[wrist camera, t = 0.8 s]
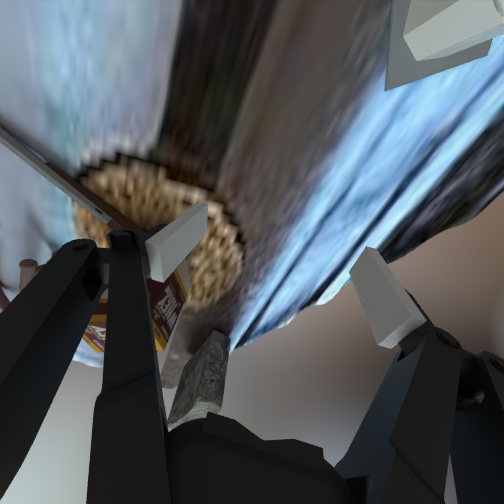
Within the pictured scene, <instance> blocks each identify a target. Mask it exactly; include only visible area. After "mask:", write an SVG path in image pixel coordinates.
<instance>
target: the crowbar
mask: <svg viewBox="0 0 504 504" xmlns="http://www.w3.org/2000/svg"><path fill="white" fill-rule="evenodd" d="M0 143H2V144H3V145H4V146H6V147H7V148H8V149H9V150H11V151H12V152H13V153H15V154H16V155H17V156H18V157H20V158H21V159H22V160H23V161H25V162H26V163H27V164H29V165H30V166H31V167H32V168H34V169H35V170H36V171H37V172H39V173H40V174H41V175H43V176H44V177H45V178H46V179H48V180H49V181H50V182H51V183H53V184H54V185H55V186H57V187H58V188H59V189H60V190H62V191H63V192H64V193H65V194H67V195H68V196H69V197H71V198H72V199H73V200H74V201H76V202H77V203H78V204H79V205H81V206H82V207H83V208H85V209H86V210H87V211H88V212H90V213H91V214H92V215H94V216H95V217H96V218H97V219H99V220H100V221H101V222H102V223H104V224H107V225H108V226H109V227H111V228H112V229H113V230H118V229H131V230H134V231H136V233H137V235H138V239H139V238H140V237H141V236H143V235H144V234H146V232H145V231H143V230H142V229H141V228H139V227H138V226H136V225H135V224H134V223H132V222H131V221H129V220H128V219H127V218H125V217H124V216H122V215H121V214H120V213H118V212H117V211H115V210H114V209H113V208H111V207H110V206H109V205H107V204H106V203H105V202H103V201H102V200H100V199H99V198H98V197H96V196H95V195H94V194H92V193H91V192H89V191H88V190H87V189H85V188H84V187H83V186H81V185H80V184H79V183H77V182H76V181H74V180H73V179H72V178H70V177H69V176H68V175H66V174H65V173H63V172H62V171H61V170H59V169H58V168H57V167H55V166H54V165H53V164H51V163H50V162H48V163H45V162H44V161H43V160H42V159H40V158H39V157H38V156H37V155H35V154H34V153H33V152H32V151H31V150H29V149H28V148H27V147H26V146H24V145H23V144H22V143H21V142H19V141H18V140H17V139H16V138H14V137H13V136H12V135H11V134H10V133H8V132H7V131H6V130H5V129H3V128H2V127H1V126H0Z"/></svg>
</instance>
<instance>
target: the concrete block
mask: <svg viewBox="0 0 504 504" xmlns="http://www.w3.org/2000/svg"><path fill="white" fill-rule="evenodd" d="M230 342H231V339H230V337H228V336H226V335H224V334H222V333H220V332H218V331H216V330H213V331H212V333H211V334H210V336H209V337H208V338H207V340H206V341H205V342H204V343H203V344H202V346H201V347H200V348H199V349H198V350H197V352H196V353H195V354H194V355H193V356H192V357H191V359H190V360H189V361H188V362H187V364H186V365H185V367H184V369H183V372H182V374H181V377H180V381H179V384H178V388H177V391H176V394H175V398H174V401H173V405H172V408H171V411H170V415H169V418H168V421H167V425H168V427H170V428H173V429H174V428H175V427H177V426H179V425H181V424H182V423H184V422H187V421H190V420H193V419H197V418H206V415H207V412H208V411H209V412H212V413H215V414H217V413H218V412H219V411H220V410H221V407H222V401H223V394H224V387H225V378H226V371H227V363H228V356H229V351H230Z"/></svg>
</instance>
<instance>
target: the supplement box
mask: <svg viewBox="0 0 504 504" xmlns="http://www.w3.org/2000/svg"><path fill="white" fill-rule="evenodd" d="M146 280H147V287H148V294H149V301H150V308H151V315H152V322H153V330H154V337H155V344H156V351H164V349H165V347H166V344H167V342H168V340H169V337H170V335H171V332H172V330H173V328H174V325H175V323H176V321H177V318H178V316H179V313H180V311H181V309H182V306H183V304H184V302H185V299H186V297H187V294H186V291H185V289H184V287H183V284H182V281H181V279H180V277H179V274H178V272H177V269H175V270H174V271H173V272H172V273H171V274H170V276H169V277H168V278H167V279H166V280H165V281H164V283H163V282H159V281H156V280H153V279H152V278H151V273H149V274H148V275H147V276H146ZM107 299H108V284H107V285H106V287H105V289H104V292H103V294H102V296H101V298H100V300H99V302H98V305H97V307H96V309H95V311H94V313H93V315H92V317H91V320H90V322H89V324H88V326H87V328H86V330H85V332H84V335H83V337H82V339H83V340H84V341H85V342H86V343H87V344H88V345H90V346H91V347H92V348H93V349H94V350H95V351H96V352H104V349H105V332H106V315H107Z"/></svg>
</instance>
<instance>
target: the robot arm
mask: <svg viewBox="0 0 504 504" xmlns="http://www.w3.org/2000/svg"><path fill="white" fill-rule="evenodd" d="M207 214H208V204H205V203H201V202H199V203H197V204H196V205H194V206H193V207H192V208H190V209H189V210H188V211H186V212H185V213H184V214H182V215H181V216H179V217H178V218H177V219H175V220H174V221H173V222H171V223H170V224H169V225H168V224H161V225H158V226H156V227H155V228H153V229H152V230H150V231H149V232H148V233H146V234H144V235H143V236H141V237H140V238H139V239H138V235H137V233H136V231H134V230H131V229H118V230H114V231H111V232H110V233H108V234H107V236H106V238H107V241H108V244H109V247H110V248H98V247H97V245H96V243H95V241H93V240H91V239H76V240H72V241H70V242H67V243H66V244H64V245H63V246H62V247H61V248H60V249H59V250H58V251H57V252H56V253H55V255H54V256H53V257H52V258H51V259H50V260H49V261H48V262H47V263H46V264H45V266H44V267H43V268H42V269H41V270H40V271H39V272H38V273H37V274H36V275H35V276H34V278H33V279H32V280H31V281H30V282H29V283H28V284H27V285H26V286H25V287H24V288H23V290H22V291H21V292H20V293H19V294H18V295H17V296H16V297H15V298H14V299H13V300H12V302H11V303H10V304H9V305H8V306H7V307H6V308H5V309H4V310H3V311H2V312H1V314H0V500H1V498H2V497H3V495H4V494H5V492H6V490H7V489H8V487H9V485H10V484H11V482H12V480H13V479H14V477H15V475H16V474H17V472H18V470H19V469H20V467H21V465H22V463H23V461H24V459H25V457H26V455H27V454H28V451H29V450H30V448H31V446H32V444H33V442H34V440H35V438H36V435H37V433H38V431H39V429H40V427H41V425H42V423H43V420H44V418H45V416H46V414H47V412H48V409H49V408H50V405H51V403H52V401H53V399H54V397H55V395H56V392H57V390H58V388H59V386H60V384H61V382H62V380H63V377H64V375H65V373H66V371H67V369H68V367H69V365H70V362H71V360H72V358H73V356H74V354H75V352H76V350H77V347H78V345H79V343H80V341H81V339H82V337H83V335H84V332H85V330H86V328H87V326H88V324H89V322H90V320H91V317H92V315H93V313H94V311H95V309H96V307H97V305H98V302H99V300H100V298H101V296H102V294H103V292H104V289H105V287H106V285H107V284H108V299H107V315H106V332H105V349H104V366H103V383H102V390H101V393H100V394H99V395H98V397H97V399H96V402H95V407H94V414H93V415H94V416H93V426H92V439H91V452H90V463H89V475H88V487H87V500H86V504H445V501H444V491H445V483H446V475H447V469H448V461H449V453H450V456H451V463H452V469H453V475H454V482H455V488H456V495H457V501H458V504H504V359H502V358H500V357H498V356H497V355H495V354H492V353H490V352H487V351H483V352H481V353H480V354H478V355H474V354H472V353H470V352H468V351H466V350H464V349H462V346H461V345H460V343H459V342H458V341H457V340H456V339H455V338H454V337H453V336H452V335H450V334H449V333H448V332H446V331H444V330H443V329H440V328H438V327H435V326H434V325H433V324H432V322H431V321H430V319H429V318H428V316H427V315H426V314H425V312H424V311H423V310H422V309H421V307H420V305H419V304H418V303H417V301H416V300H415V299H414V297H413V296H412V295H411V294H410V293H409V292H408V291H407V290H405V289H404V288H403V286H402V285H401V284H400V282H399V281H398V279H397V278H396V277H395V275H394V274H393V272H392V271H391V270H390V268H389V267H388V265H387V264H386V262H385V261H384V260H383V258H382V257H381V255H380V254H379V252H378V251H377V250H376V249H374V248H371V247H367V246H366V248H365V249H364V251H363V252H362V253H361V255H360V256H359V258H358V259H357V261H356V262H355V264H354V265H353V267H352V268H351V270H350V271H349V273H350V276H351V279H352V281H353V284H354V286H355V289H356V291H357V294H358V296H359V299H360V301H361V304H362V306H363V309H364V311H365V314H366V316H367V319H368V321H369V324H370V327H371V329H372V331H373V334H374V337H375V339H376V342H377V344H378V345H380V346H383V347H387V348H390V349H391V348H392V347H394V346H395V345H396V344H398V343H399V345H400V347H401V349H402V350H400V351H399V352H398V353H396V354H395V355H393V356H392V357H391V358H390V359H389V360H390V361H391V360H393V362H392V364H391V366H390V368H389V370H388V372H387V374H386V376H385V378H384V380H383V382H382V384H381V386H380V388H379V390H378V392H377V394H376V396H375V397H374V400H373V401H372V404H371V405H370V407H369V410H368V411H367V413H366V415H365V417H364V419H363V421H362V423H361V425H360V427H359V429H358V431H357V433H356V435H355V437H354V439H353V441H352V443H351V445H350V447H349V449H348V451H347V453H346V454H345V456H344V457H343V458H342V459H341V460H340V461H339V462H338V463H337V464H336V466H335V467H333V466H332V465H331V464H329V463H328V462H327V461H326V460H325V459H324V457H323V448H321V447H318V446H314V445H311V444H308V443H305V442H302V441H299V440H296V439H284V440H268V441H265V440H262V439H260V438H259V437H258V436H256V435H255V434H254V433H252V432H251V431H249V430H248V429H247V428H245V427H244V426H243V425H241V424H240V423H239V422H237V421H236V420H234V419H230V418H227V417H224V416H221V415H218V414H215V413H212V412H209V411H208V412H207V415H206V418H197V419H193V420H190V421H187V422H184V423H182V424H181V425H179V426H177V427H175V428H174V429H172V430H171V431H170V432H168V425H167V419H166V412H165V406H164V400H163V393H162V386H161V379H160V373H159V366H158V358H157V351H156V344H155V337H154V330H153V322H152V315H151V308H150V301H149V294H148V287H147V280H146V276H147V275H148V274H149V273H151V278H152V279H153V280H156V281H159V282H163V283H164V281H165V280H166V279H167V278H168V277H169V276H170V274H171V273H172V272H173V271H174V270H175V269H176V268H177V266H178V265H179V264H180V263H181V262H182V261H183V259H184V258H185V257H186V256H187V255H188V254H189V253H190V251H191V250H192V249H193V248H194V247H195V246H196V245H197V243H198V242H199V241H200V240H201V239H202V238H203V236H204V235H205V234H206V232H207ZM483 396H484V400H483V401H482V402H481V403H479V399H478V398H480V397H483Z"/></svg>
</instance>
